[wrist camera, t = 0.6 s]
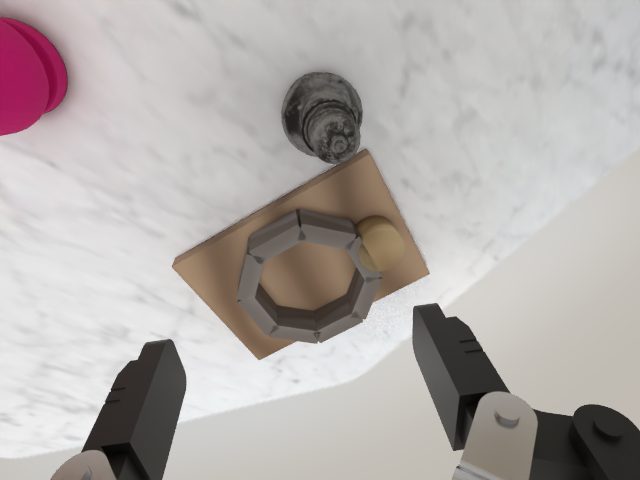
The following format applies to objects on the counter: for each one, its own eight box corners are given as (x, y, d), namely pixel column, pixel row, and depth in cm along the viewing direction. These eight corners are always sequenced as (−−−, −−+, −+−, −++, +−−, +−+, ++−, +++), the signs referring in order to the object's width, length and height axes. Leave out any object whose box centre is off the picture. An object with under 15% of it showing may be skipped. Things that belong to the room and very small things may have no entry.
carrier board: (366, 148, 33) (379, 164, 29) (424, 265, 39) (441, 291, 35) (175, 258, 36) (163, 286, 32) (259, 350, 42) (258, 382, 38)
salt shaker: (367, 115, 32) (415, 157, 21) (310, 158, 33) (328, 219, 22) (325, 51, 29) (356, 62, 18) (264, 101, 30) (261, 138, 20)
